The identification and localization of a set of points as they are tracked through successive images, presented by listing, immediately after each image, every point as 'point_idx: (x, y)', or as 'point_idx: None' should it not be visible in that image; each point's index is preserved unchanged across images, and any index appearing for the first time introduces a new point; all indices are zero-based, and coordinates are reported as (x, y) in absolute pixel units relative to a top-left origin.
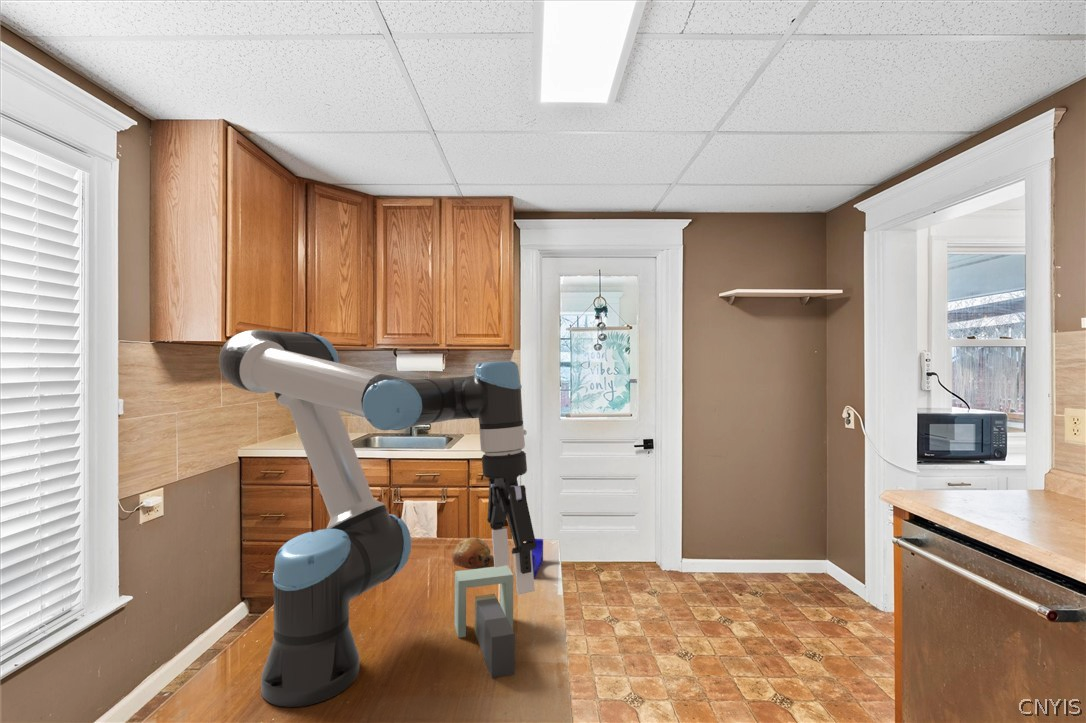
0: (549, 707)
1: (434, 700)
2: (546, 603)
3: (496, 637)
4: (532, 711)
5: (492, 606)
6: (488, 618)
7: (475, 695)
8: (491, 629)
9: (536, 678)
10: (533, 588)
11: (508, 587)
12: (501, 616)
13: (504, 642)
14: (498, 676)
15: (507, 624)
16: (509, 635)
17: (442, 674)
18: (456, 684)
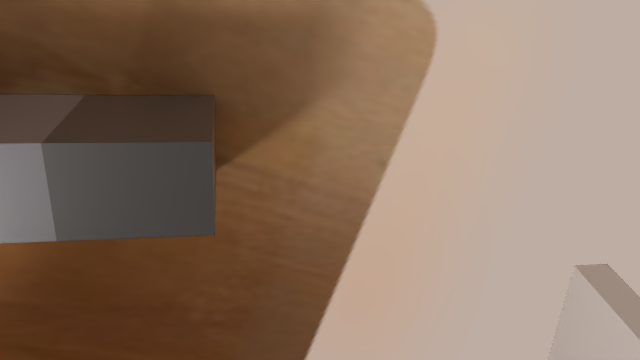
0: (410, 38)
1: (268, 320)
2: None
3: (213, 215)
4: (406, 92)
5: None
6: (40, 224)
7: (282, 225)
8: (148, 227)
9: (259, 28)
10: (615, 281)
11: None
12: (29, 164)
13: (213, 173)
14: (215, 150)
15: (119, 154)
16: (211, 163)
17: (154, 298)
18: (215, 267)
